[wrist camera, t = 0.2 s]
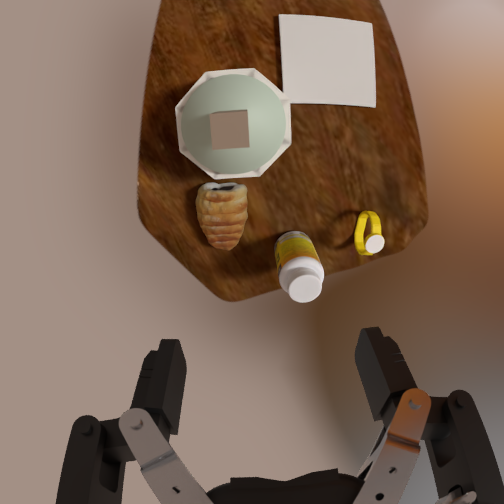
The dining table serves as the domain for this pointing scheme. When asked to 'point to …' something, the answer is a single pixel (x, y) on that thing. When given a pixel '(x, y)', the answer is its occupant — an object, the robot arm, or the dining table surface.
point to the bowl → (248, 72)
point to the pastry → (222, 213)
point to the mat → (327, 60)
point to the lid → (233, 124)
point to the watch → (373, 240)
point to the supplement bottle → (298, 266)
